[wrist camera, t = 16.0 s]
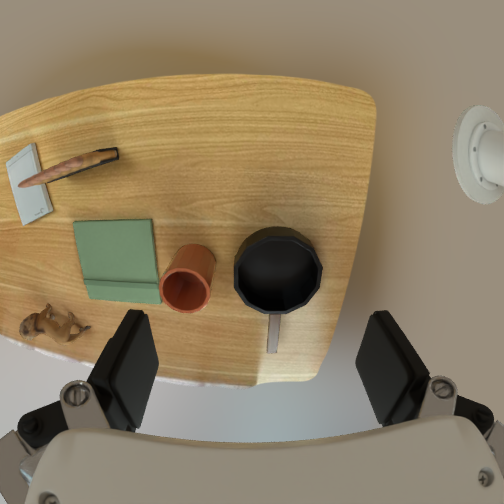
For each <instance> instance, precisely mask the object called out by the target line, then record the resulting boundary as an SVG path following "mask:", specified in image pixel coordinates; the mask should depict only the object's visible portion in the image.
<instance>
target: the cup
mask: <svg viewBox="0 0 504 504" xmlns="http://www.w3.org/2000/svg"><path fill="white" fill-rule="evenodd" d="M215 272H216V261H215V258H214V256H213V254H212V253H211V252H210V251H209V250H208V249H207V248H205V247H204V246H202V245H198V244H187V245H185V246H182V247H181V248H180V249H179V250H178V251H177V252H176V253H175V254H174V256H173V258H172V260H171V261H170V263H169V265H168V267H167V268H166V270H165V272H164V274H163V276H162V277H161V280H160V283H159V292H160V296H161V297H162V299H163V301H164V302H165V304H167V305H168V306H169V307H170V308H171V309H173V310H176V311H178V312H181V313H194V312H197V311H200V310H201V309H203V308H204V307H205V306H206V305H207V303H208V301H209V299H210V295H211V291H212V286H213V281H214V276H215Z"/></svg>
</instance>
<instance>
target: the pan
mask: <svg viewBox="0 0 504 504" xmlns="http://www.w3.org/2000/svg"><path fill="white" fill-rule="evenodd" d="M322 269H323V267H322V265H321V263H320V260H319V258H318V256H317V254H316V252H315V250H314V248H313V246H312V244H311V243H310V241H309V240H308V239H307V238H305V237H304V236H303V235H302V234H300V233H299V232H297V231H295V230H293V229H291V228H286V227H268V228H264V229H261V230H259V231H257V232H255V233H253V234H252V235H250V236H249V237H248V238H246V240H245V241H244V242H243V243H242V245H241V246H240V248H239V250H238V252H237V254H236V255H235V260H234V288H235V290H236V291H237V293H238V294H239V296H240V297H241V299H242V300H243V302H244V303H245V305H247V306H249V307H251V308H253V309H255V310H257V311H259V312H261V313H263V314H269V326H268V339H267V353H277V346H278V337H279V328H280V318H281V314H287V313H290V312H292V311H294V310H296V309H298V308H300V307H302V306H304V305H306V304H307V303H308V302H309V301H310V299H311V298H312V297H313V296H314V294H315V293H316V292H317V291H318V289H319V288H320V283H321V276H322Z"/></svg>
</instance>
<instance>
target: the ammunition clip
mask: <svg viewBox="0 0 504 504" xmlns="http://www.w3.org/2000/svg"><path fill="white" fill-rule="evenodd" d="M118 159H119V156H118V150H117V147H113V148H106V149H99V150H96V151H93V152H89V153H85V154H83V155H80V156H77V157H74V158H71V159H69V160H67V161H64V162H62V163H59V164H58V165H55V166H52V167H50V168H48V169H46V170H43V171H41V172H40V173H38V174H35V175H33V176H31V177H30V178H27V179H25V180H23V181H22V182H20V183H19V184H18V187H19V188H26V187H30V186H34V185H41V184H44V183H50V182H53V181H56V180H59V179H62V178H65V177H68V176H71V175H73V174H76V173H79V172H82V171H84V170H87V169H90V168H93V167H96V166H99V165H102V164H105V163H108V162H111V161H115V160H118Z"/></svg>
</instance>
